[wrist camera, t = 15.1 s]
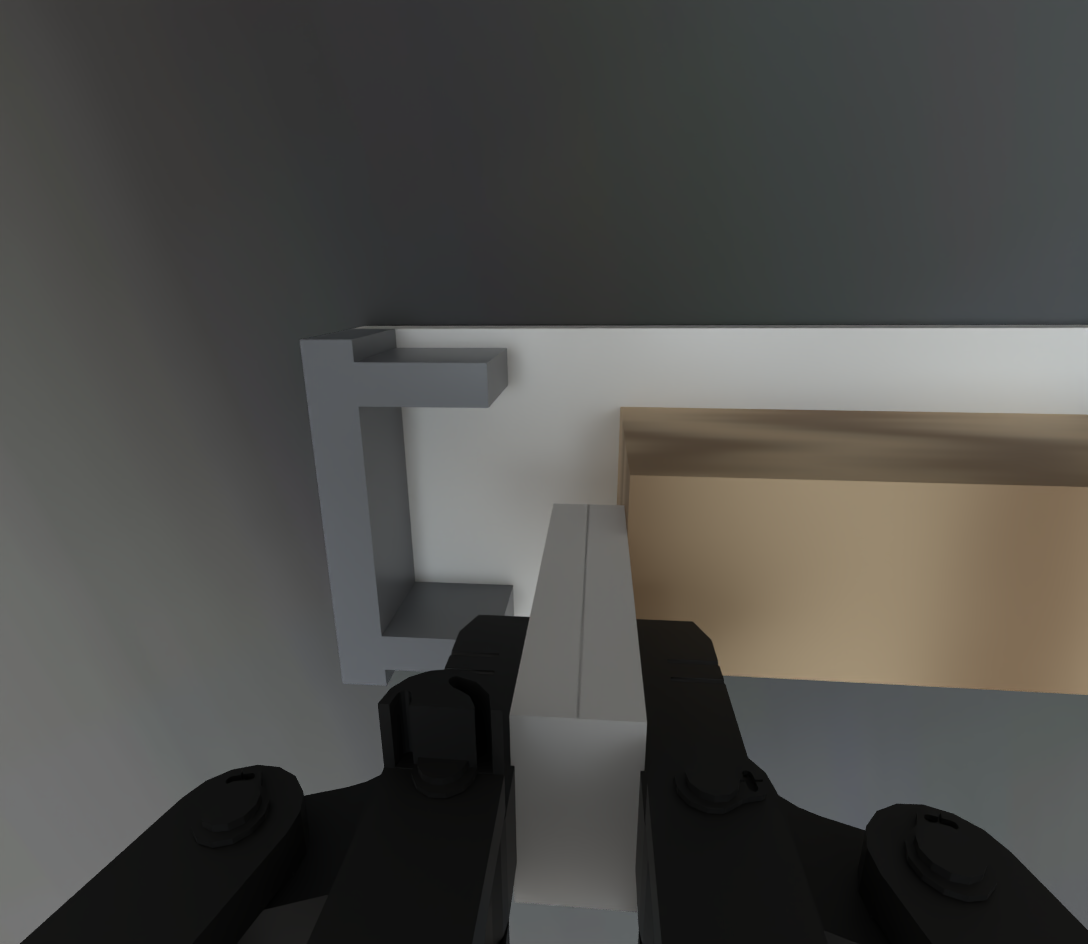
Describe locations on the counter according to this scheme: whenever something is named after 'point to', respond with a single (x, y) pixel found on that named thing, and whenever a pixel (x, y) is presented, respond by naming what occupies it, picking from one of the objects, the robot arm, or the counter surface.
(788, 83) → the counter surface
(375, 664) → the holder
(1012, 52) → the counter surface
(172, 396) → the counter surface
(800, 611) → the tan rectangular block
